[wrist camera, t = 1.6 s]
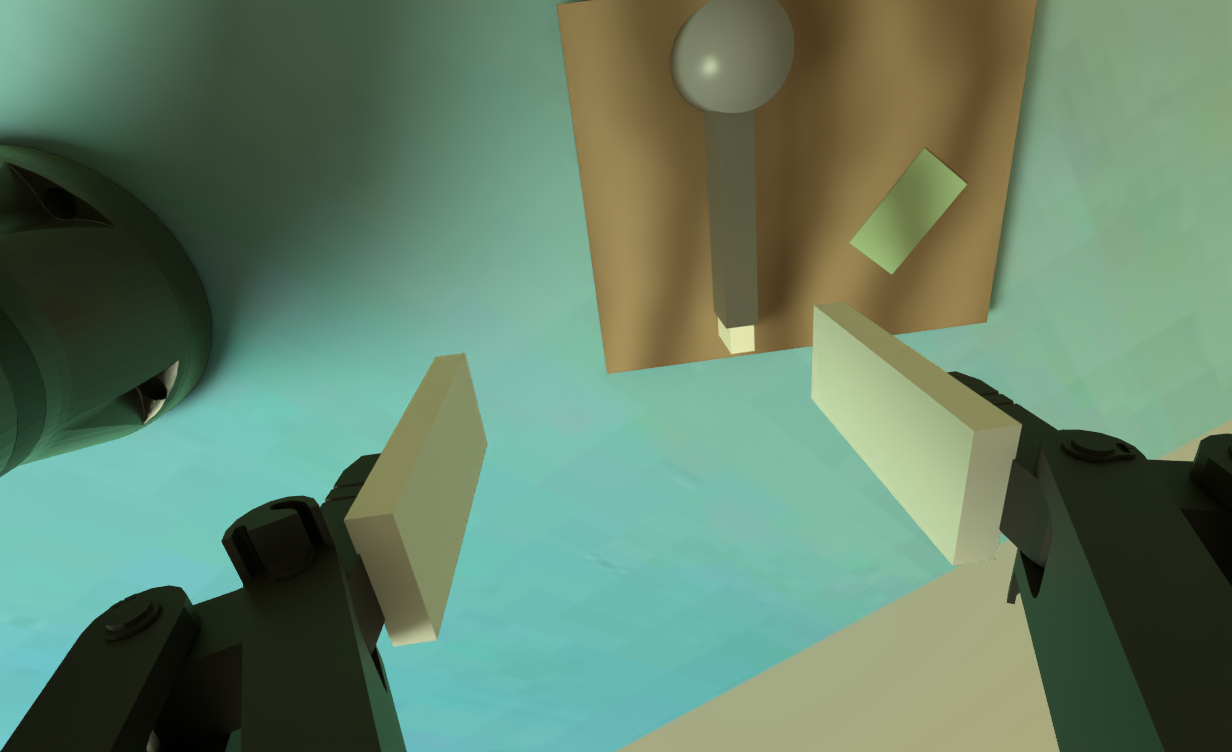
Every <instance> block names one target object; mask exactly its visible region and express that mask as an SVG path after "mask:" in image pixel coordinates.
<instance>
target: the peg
mask: <svg viewBox="0 0 1232 752" xmlns="http://www.w3.org/2000/svg"><path fill="white" fill-rule="evenodd" d="M793 56H794V34H793V29H792V25H791V22H790V20H789V17H788V15H787V13H786V11H785V10H784V8H783V7H782V6H781V4H780V3H779V2H778V1H777V0H710V1H709V2H707V3H706V4H705V5H704V6H703V7H701V8H700V9H699V10H698V11H697V12H696V13H694V14H693V15H692V16H691V17H690V18H689V19H688V20H687V21H686V22H685V23H684V24H683V25H682V27H681V28H680V30H679V31H678V33H677V35H676V37H675V40H674V43H673V46H672V50H671V56H670V69H671V76H672V80H673V82H674V85H675V87H676V89H677V91H678V93H679V94H680V96H681V97H682V98H683V99H684V100H685V101H686V102H687V103H688V104H689V105H690V106H692V107H694V108H695V109H697V110H700V111H703V112H704V123H705V143H706V163H707V183H708V203H709V223H710V243H711V263H712V283H713V303H714V312H715V314H716V315H717V316H718V331H719V336H720V338H721V339H722V341H723V342H724V344H725V345H726V347H727V348H728V350H729V351H730V353H731V354H735V353H742V352H750V351H755V347H754V325H758V294H757V235H756V175H755V116H754V109H756V108H758V107H759V106H761V105H763V104H764V103H766V102H767V101H769V100H770V99H771V98H772V97H773V96H774V95H775V94H776V93H777V92H778V91H779V89H780V88H781V86H782V85H783V83H784V82H785V80H786V78H787V76H788V73H789V71H790V68H791V65H792V61H793Z"/></svg>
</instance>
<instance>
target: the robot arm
mask: <svg viewBox="0 0 1232 752" xmlns="http://www.w3.org/2000/svg"><path fill="white" fill-rule="evenodd" d="M210 346H211V319H210V312H209V307H208V303H207V299H206V296H205V293H204V290H203V287H202V284H201V282H200V280H199V277H198V275H197V273H196V271H195V269H194V267H193V265H192V264H191V262H190V260H189V258H188V257H187V255H186V254H185V252H184V251H183V249H182V248H181V246H180V245H179V243H178V242H177V241H176V239H175V238H174V237H173V236H172V234H171V233H170V232H169V231H168V230H167V228H166V227H165V226H164V225H163V224H162V223H161V222H160V221H159V220H158V219H157V218H156V217H155V216H154V215H153V214H152V213H151V212H150V211H149V210H148V209H147V208H146V207H145V206H143V205H142V204H141V203H140V202H139V201H138V200H136V199H135V198H134V197H133V196H131V195H130V194H129V193H127V192H126V191H125V190H123V189H122V188H120V187H119V186H117V185H116V184H115V183H113V182H111V181H110V180H108V179H106V178H105V177H103V176H101V175H100V174H98V173H96V172H94V171H92V170H90V169H88V168H86V167H84V166H82V165H80V164H78V163H75V162H73V161H70V160H68V159H65V158H63V157H60V156H57V155H54V154H51V153H48V152H44V151H40V150H36V149H31V148H27V147H21V146H14V145H2V144H0V477H1V476H3V475H4V474H6V473H7V472H9V471H10V470H12V469H14V468H15V467H17V466H19V465H23V464H27V463H30V462H34V461H38V460H41V459H45V458H49V457H53V456H56V455H60V454H64V453H67V452H71V451H75V450H78V449H82V448H86V447H90V446H93V445H97V444H101V443H104V442H108V441H112V440H115V439H118V438H121V437H124V436H126V435H129V434H131V433H133V432H136V431H138V430H140V429H142V428H144V427H145V426H147V425H149V424H150V423H152V422H153V421H155V420H156V419H158V418H159V417H160V416H162V415H163V414H165V413H166V412H167V411H169V410H170V409H171V408H173V407H174V406H175V405H177V404H178V403H179V402H181V401H182V400H183V399H184V398H185V397H186V396H187V395H188V394H189V393H190V392H191V391H192V389H193V388H194V387H195V385H196V384H197V382H198V381H199V379H200V377H201V375H202V373H203V371H204V369H205V367H206V364H207V360H208V357H209V352H210ZM812 400H813V401H814V402H815V403H816V405H817V406H818V407H819V408H820V409H821V410H822V412H823V413H824V414H825V415H826V416H827V418H828V419H829V420H830V421H831V422H832V423H833V425H834V426H835V427H836V428H837V429H838V431H839V432H840V433H841V434H842V435H843V436H844V438H845V439H846V440H847V441H848V442H849V444H850V445H851V446H852V447H853V448H854V450H855V451H856V452H857V453H858V454H859V455H860V457H861V458H862V459H863V460H864V461H865V463H866V464H867V465H868V466H869V467H870V468H871V470H872V471H873V472H874V473H875V474H876V476H877V477H878V478H879V479H880V480H881V481H882V483H883V484H884V485H885V486H886V487H887V489H888V490H889V491H890V492H891V493H892V494H893V496H894V497H895V498H896V499H897V500H898V502H899V503H900V504H901V505H902V506H903V508H904V509H905V510H906V511H907V512H908V513H909V515H910V516H911V517H912V518H913V519H914V521H915V522H916V523H917V524H918V525H919V526H920V528H921V529H922V530H923V531H924V532H925V534H926V535H927V536H928V537H929V538H930V539H931V541H932V542H933V543H934V544H935V545H936V547H937V548H938V549H939V550H940V551H941V552H942V554H943V555H944V556H945V557H946V558H947V560H948V561H949V562H950V563H951V564H952V566H955V565H962V564H969V563H976V562H983V561H990V560H995V559H996V554H997V549H998V544H999V539H1000V534H1001V532H1002V533H1003V534H1004V535H1005V536H1006V537H1007V538H1008V539H1009V540H1010V541H1011V542H1012V543H1013V544H1014V545H1016V547H1018V549H1017V554H1016V558H1015V563H1014V568H1013V572H1012V577H1011V581H1010V586H1009V591H1008V598H1007V603H1011V604H1015V600H1016V596H1017V594H1018V593H1020V594H1021V598H1022V602H1023V606H1024V610H1025V614H1026V618H1027V622H1028V626H1029V630H1030V634H1031V638H1032V642H1033V646H1034V650H1035V654H1036V658H1037V662H1038V666H1039V670H1040V674H1041V678H1042V682H1043V686H1044V690H1045V694H1046V698H1047V702H1048V706H1049V710H1050V714H1051V718H1052V722H1053V726H1054V730H1055V734H1056V738H1057V742H1058V746H1059V750H1060V752H1232V434H1219V435H1210V436H1208V437H1207V438H1205V439H1203V440H1201V442H1200V444H1199V447H1198V450H1197V453H1196V456H1195V459H1194V461H1193V462H1189V461H1167V460H1147V459H1146V457H1145V456H1144V455H1143V454H1142V453H1141V452H1140V451H1139V450H1138V449H1137V448H1136V447H1135V446H1133V445H1131V444H1129V443H1127V442H1125V441H1123V440H1121V439H1119V438H1115V437H1112V436H1109V435H1105V434H1102V433H1098V432H1092V431H1085V430H1059V431H1058V430H1057V429H1055V428H1054V427H1052V426H1051V425H1049V424H1048V423H1046V422H1045V421H1043V420H1041V419H1040V418H1038V417H1037V416H1035V415H1034V414H1032V413H1031V412H1029V411H1028V410H1026V409H1025V408H1023V407H1021V406H1020V405H1018V404H1014V403H1013V401H1012V400H1011V399H1009V398H1008V397H1006V396H1004V395H1003V394H999V393H998V391H997V390H995V389H994V388H992V387H991V386H989V385H987V384H986V383H984V382H983V381H981V380H979V379H976V378H973V377H970V376H968V375H965V374H962V373H959V372H956V371H955V372H948V373H946V372H945V371H943V370H942V369H941V368H939V367H938V366H936V365H935V364H933V363H932V362H930V361H929V360H927V359H926V358H925V357H923V356H922V355H920V354H919V353H917V352H916V351H914V350H913V349H911V348H910V347H909V346H907V345H906V344H904V343H903V342H901V341H900V340H898V339H897V338H895V337H894V336H893V335H891V334H890V333H888V332H887V331H885V330H884V329H882V328H881V327H879V326H878V325H877V324H875V323H874V322H872V321H871V320H869V319H868V318H866V317H865V316H863V315H862V314H861V313H859V312H858V311H856V310H855V309H853V308H852V307H850V306H849V305H847V304H846V303H845V302H843V301H840V302H833V303H826V304H818V305H814V315H813V358H812ZM486 448H487V440H486V436H485V432H484V428H483V424H482V420H481V416H480V412H479V408H478V404H477V400H476V396H475V392H474V388H473V383H472V379H471V375H470V371H469V367H468V363H467V359H466V355H465V353H462V354H455V355H447V356H440V357H435V359H434V361H433V363H432V364H431V366H430V368H429V370H428V371H427V373H426V375H425V377H424V378H423V380H422V382H421V384H420V386H419V387H418V389H417V391H416V393H415V394H414V396H413V398H412V400H411V402H410V403H409V405H408V407H407V409H406V410H405V412H404V414H403V416H402V418H401V419H400V421H399V423H398V425H397V426H396V428H395V430H394V432H393V433H392V435H391V437H390V439H389V441H388V442H387V444H386V446H385V448H384V449H383V451H382V453H379V454H372V455H365V456H361V457H360V458H359V459H358V460H356V461H355V462H354V463H353V464H351V465H350V466H349V467H348V468H346V469H345V470H344V471H343V473H342V474H341V476H340V477H339V479H338V480H337V482H336V483H335V485H334V489H333V490H331V491H330V493H329V494H328V496H327V497H326V499H325V503H323V504H322V505H321V507H319V505H318V503H317V502H316V501H315V500H314V498H310V497H306V496H290V497H285V498H281V499H277V500H274V501H270V502H268V503H266V504H264V505H261V506H259V507H257V508H255V509H252V510H251V511H249V512H248V513H246V514H245V515H243V516H242V517H240V518H239V519H237V520H236V521H235V522H234V523H233V524H232V525H231V526H230V527H229V528H228V529H227V530H226V532H225V534H224V536H223V539H222V541H221V542H222V544H223V545H224V547H225V549H226V551H227V553H228V555H229V557H230V559H231V561H232V563H233V565H234V567H235V569H236V571H237V573H238V575H239V577H240V579H241V581H242V583H243V588H240V589H238V590H236V591H233V592H230V593H227V594H224V595H221V596H219V597H216V598H213V599H210V600H207V601H204V602H201V603H198V604H196V605H192V603H191V601H190V600H189V598H188V596H187V594H186V593H185V592H184V590H183V589H182V588H181V587H175V586H163V587H157V588H152V589H149V590H146V591H143V592H141V593H138V594H134V595H131V596H129V597H127V598H125V600H123V601H122V600H121V601H120V602H118V603H116V604H114V605H113V606H111V607H110V608H109V609H108V610H107V611H105V612H104V613H103V614H101V615H100V616H99V617H97V618H96V619H95V620H94V621H93V622H92V623H91V624H90V625H89V626H88V627H87V628H86V629H85V630H84V632H83V633H82V634H81V635H80V636H79V638H78V639H77V641H76V642H75V644H74V645H73V647H72V648H71V649H70V651H69V652H68V654H67V655H66V657H65V658H64V660H63V661H62V663H61V664H60V665H59V667H58V668H57V670H56V671H55V673H54V674H53V676H52V677H51V679H50V680H49V682H48V683H47V684H46V686H45V687H44V689H43V690H42V692H41V693H40V695H39V696H38V698H37V699H36V700H35V702H34V703H33V705H32V706H31V708H30V709H29V711H28V712H27V714H26V715H25V716H24V718H23V719H22V721H21V722H20V724H19V725H18V727H17V728H16V730H15V731H14V732H13V734H12V735H11V737H10V738H9V740H8V741H7V743H6V744H5V746H4V747H3V749H2V750H1V751H0V752H407V751H406V747H405V744H404V740H403V736H402V732H401V728H400V725H399V721H398V717H397V713H396V710H395V706H394V702H393V698H392V694H391V691H390V687H389V683H388V679H387V676H386V672H385V668H384V664H383V661H382V658H381V656H380V653H379V651H378V648H377V646H376V643H377V640H378V638H379V635H380V632H381V630H382V627H383V624H385V627H386V629H387V632H388V634H389V637H390V639H391V642H392V644H393V646H400V645H407V644H414V643H421V642H428V641H435V640H437V638H438V634H439V630H440V627H441V623H442V619H443V615H444V611H445V607H446V603H447V599H448V595H449V592H450V588H451V584H452V580H453V576H454V572H455V568H456V564H457V560H458V557H459V553H460V549H461V545H462V541H463V537H464V533H465V529H466V525H467V522H468V518H469V514H470V510H471V506H472V502H473V498H474V494H475V490H476V487H477V483H478V479H479V475H480V471H481V467H482V463H483V459H484V455H485V452H486Z"/></svg>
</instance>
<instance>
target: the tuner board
mask: <svg viewBox="0 0 1232 752" xmlns="http://www.w3.org/2000/svg"><path fill="white" fill-rule="evenodd" d="M709 1H710V0H589V1H582V2H574V3H566V4H558V5H557V10H558V18H559V25H560V32H561V39H562V47H563V54H564V61H565V69H566V76H567V83H568V91H569V98H570V105H571V113H572V120H573V127H574V135H575V142H576V149H577V156H578V164H579V171H580V178H581V186H582V193H583V200H584V208H585V215H586V222H587V230H588V237H589V244H590V251H591V259H592V266H593V273H594V281H595V288H596V295H597V303H598V310H599V317H600V325H601V332H602V339H603V347H604V354H605V361H606V368H607V374H610V373H617V372H625V371H632V370H639V369H647V368H654V367H661V366H669V365H676V364H683V363H691V362H698V361H705V360H713V359H720V358H727V357H735V356H742V355H749V354H757V353H764V352H771V351H779V350H786V349H794V348H801V347H808V346H813V315H814V305H818V304H826V303H833V302H840V301H843V302H845V303H846V304H847V305H849V306H850V307H852V308H853V309H855V310H856V311H858V312H859V313H861V314H862V315H863V316H865V317H866V318H868V319H869V320H871V321H872V322H874V323H875V324H877V325H878V326H879V327H881V328H882V329H884V330H885V331H887V332H888V333H890V334H891V335H896V334H904V333H911V332H918V331H926V330H933V329H940V328H948V327H955V326H962V325H970V324H977V323H984V322H987V317H988V311H989V304H990V298H991V292H992V285H993V279H994V273H995V266H996V260H997V253H998V247H999V241H1000V234H1001V228H1002V222H1003V215H1004V209H1005V203H1006V196H1007V190H1008V183H1009V177H1010V171H1011V164H1012V158H1013V152H1014V145H1015V139H1016V132H1017V126H1018V120H1019V113H1020V107H1021V101H1022V94H1023V88H1024V82H1025V75H1026V69H1027V62H1028V56H1029V50H1030V43H1031V37H1032V31H1033V24H1034V18H1035V11H1036V5H1037V0H777V1H778V2H779V3H780V4H781V6H782V7H783V8H784V10H785V11H786V13H787V15H788V17H789V20H790V22H791V25H792V29H793V34H794V56H793V61H792V65H791V68H790V71H789V73H788V76H787V78H786V80H785V82H784V83H783V85H782V86H781V88H780V89H779V91H778V92H777V93H776V94H775V95H774V96H773V97H772V98H771V99H770V100H769V101H767V102H766V103H764V104H763V105H761V106H759V107H758V108H756V109H754V116H755V175H756V235H757V294H758V325H754V347H755V351H750V352H742V353H735V354H731V353H730V351H729V350H728V348H727V347H726V345H725V344H724V342H723V341H722V339H721V338H720V336H719V331H718V316H717V315H716V314H715V312H714V303H713V283H712V263H711V243H710V223H709V203H708V183H707V163H706V143H705V123H704V112H703V111H700V110H697V109H695V108H694V107H692V106H690V105H689V104H688V103H687V102H686V101H685V100H684V99H683V98H682V97H681V96H680V94H679V93H678V91H677V89H676V87H675V85H674V82H673V80H672V76H671V69H670V56H671V50H672V46H673V43H674V40H675V37H676V35H677V33H678V31H679V30H680V28H681V27H682V25H683V24H684V23H685V22H686V21H687V20H688V19H689V18H690V17H691V16H692V15H693V14H694V13H696V12H697V11H698V10H699V9H700V8H701V7H703V6H704V5H705V4H706V3H707V2H709Z"/></svg>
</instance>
